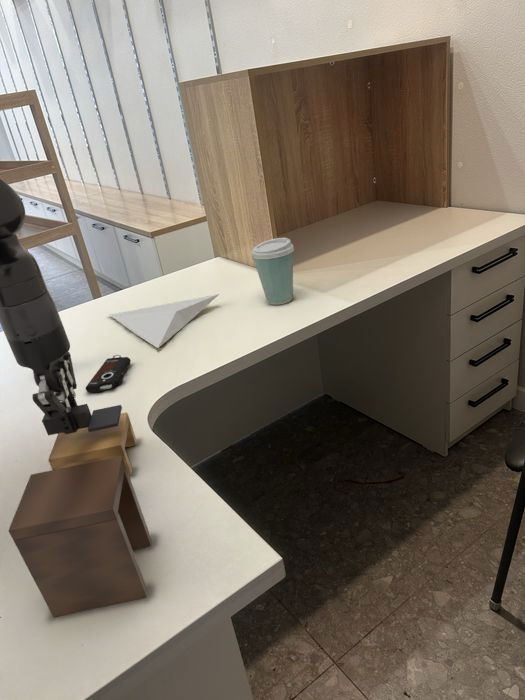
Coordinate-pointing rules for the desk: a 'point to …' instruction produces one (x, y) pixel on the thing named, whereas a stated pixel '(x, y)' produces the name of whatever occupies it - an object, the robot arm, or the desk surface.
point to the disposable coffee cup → (275, 269)
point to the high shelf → (82, 536)
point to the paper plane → (162, 319)
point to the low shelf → (93, 445)
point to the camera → (109, 374)
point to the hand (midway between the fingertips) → (73, 425)
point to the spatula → (87, 419)
